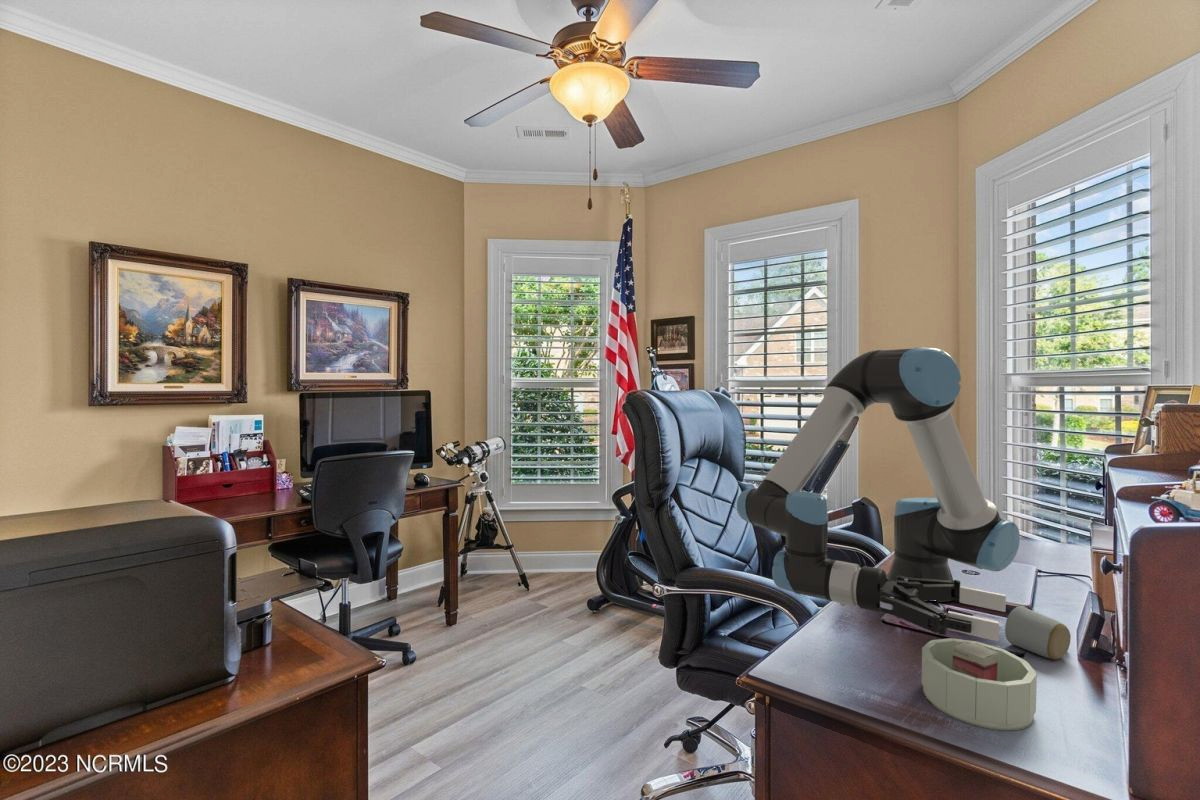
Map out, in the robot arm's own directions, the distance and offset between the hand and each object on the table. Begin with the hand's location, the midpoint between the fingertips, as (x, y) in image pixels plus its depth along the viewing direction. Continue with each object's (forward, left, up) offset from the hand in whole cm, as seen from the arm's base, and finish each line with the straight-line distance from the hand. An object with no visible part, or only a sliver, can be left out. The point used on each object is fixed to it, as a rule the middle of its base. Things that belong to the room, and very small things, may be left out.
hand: (1002, 616), depth 90 cm
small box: (-3, -3, -14) cm, 15 cm away
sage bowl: (-3, -2, -15) cm, 15 cm away
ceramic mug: (-15, +25, -15) cm, 33 cm away
